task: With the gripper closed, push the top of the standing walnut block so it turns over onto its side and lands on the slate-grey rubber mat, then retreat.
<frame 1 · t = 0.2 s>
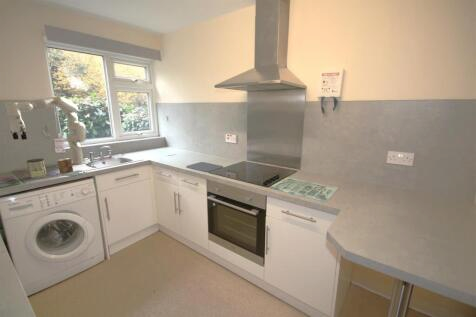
hand: (20, 139, 177), 31 cm above the worktop, fingers open, 9 cm apart
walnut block: (66, 172, 191), on the worktop
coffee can: (39, 176, 181), on the worktop
mat: (75, 173, 188), on the worktop
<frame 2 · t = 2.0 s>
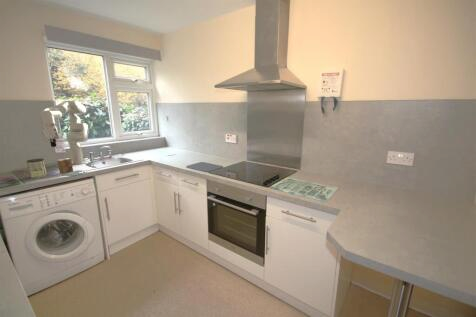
hand: (54, 146, 188), 23 cm above the worktop, fingers closed
nothing on the worktop moved.
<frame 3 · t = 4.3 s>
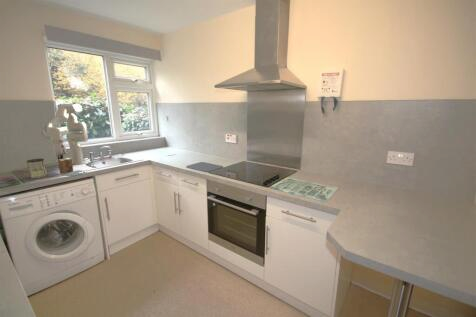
hand: (61, 162, 190), 9 cm above the worktop, fingers closed
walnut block: (66, 172, 191), on the worktop, touching gripper
everything else where it was.
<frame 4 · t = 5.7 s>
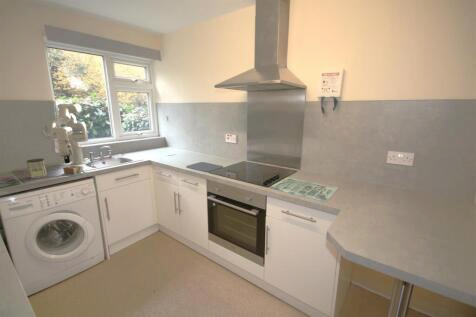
hand: (67, 163, 188), 9 cm above the worktop, fingers closed
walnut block: (68, 169, 189), point 3 cm above the worktop, tilted 90°, touching mat
everything else where it was.
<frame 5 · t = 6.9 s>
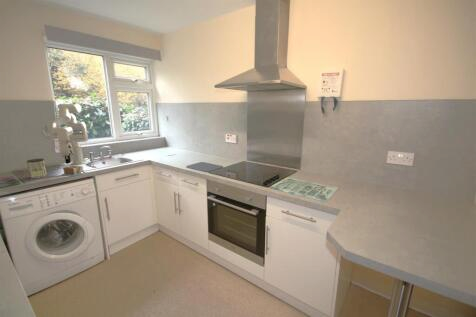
hand: (68, 163, 188), 9 cm above the worktop, fingers closed
nothing on the worktop moved.
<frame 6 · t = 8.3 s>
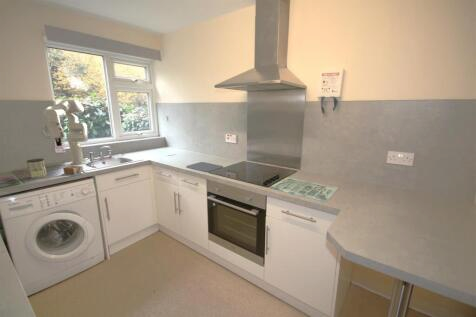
hand: (59, 145, 187), 24 cm above the worktop, fingers closed
nothing on the worktop moved.
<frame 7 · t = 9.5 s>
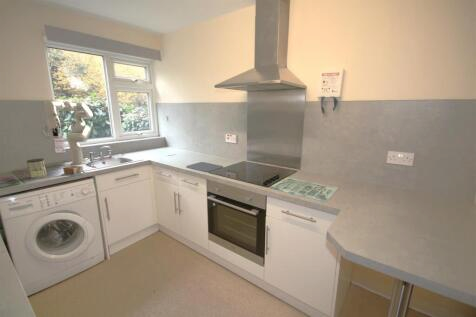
hand: (56, 136, 196), 31 cm above the worktop, fingers closed
nothing on the worktop moved.
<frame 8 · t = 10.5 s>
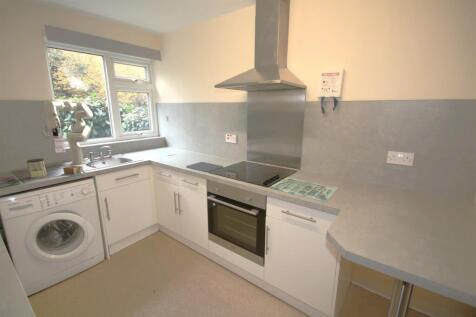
hand: (55, 136, 196), 31 cm above the worktop, fingers closed
nothing on the worktop moved.
at the end: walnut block tilted 90°; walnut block inside the target area (5.1 cm from its centre), point 2.9 cm above the worktop; the gripper is holding nothing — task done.
